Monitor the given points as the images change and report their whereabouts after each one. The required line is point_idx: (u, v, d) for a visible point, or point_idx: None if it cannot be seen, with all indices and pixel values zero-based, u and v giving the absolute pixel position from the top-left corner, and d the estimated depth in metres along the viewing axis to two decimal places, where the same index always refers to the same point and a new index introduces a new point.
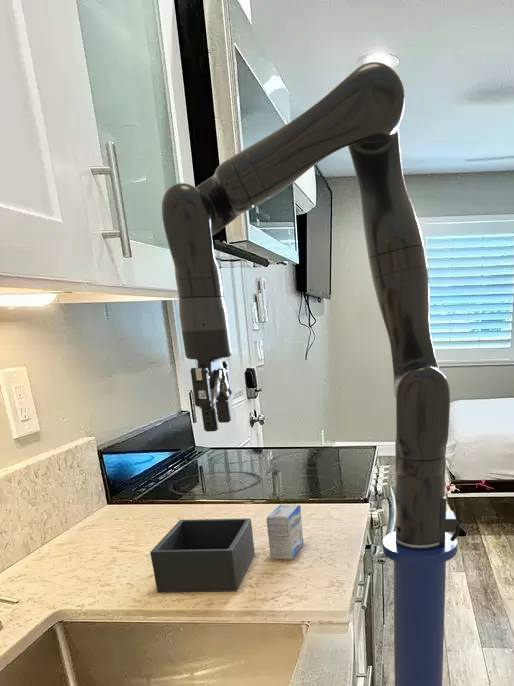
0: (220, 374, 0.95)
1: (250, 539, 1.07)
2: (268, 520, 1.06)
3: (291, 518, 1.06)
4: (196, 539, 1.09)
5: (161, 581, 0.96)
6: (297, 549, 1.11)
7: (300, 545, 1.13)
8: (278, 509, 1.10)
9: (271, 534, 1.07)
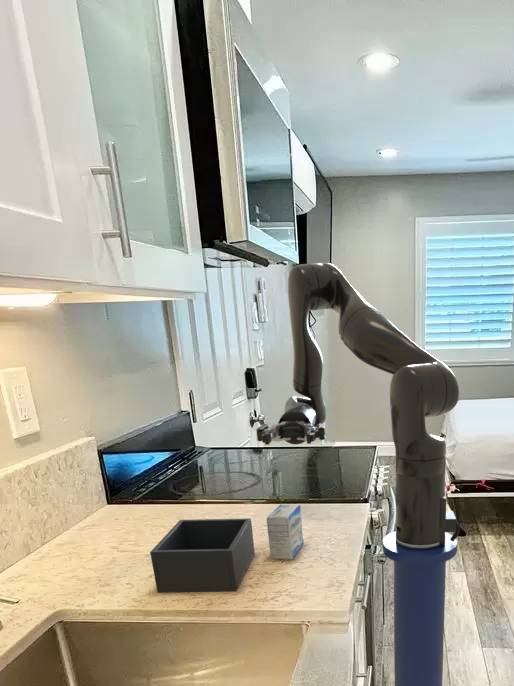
0: (285, 421, 1.22)
1: (250, 539, 1.07)
2: (268, 520, 1.06)
3: (291, 518, 1.06)
4: (196, 539, 1.09)
5: (161, 581, 0.96)
6: (297, 549, 1.11)
7: (300, 545, 1.13)
8: (278, 509, 1.10)
9: (271, 534, 1.07)
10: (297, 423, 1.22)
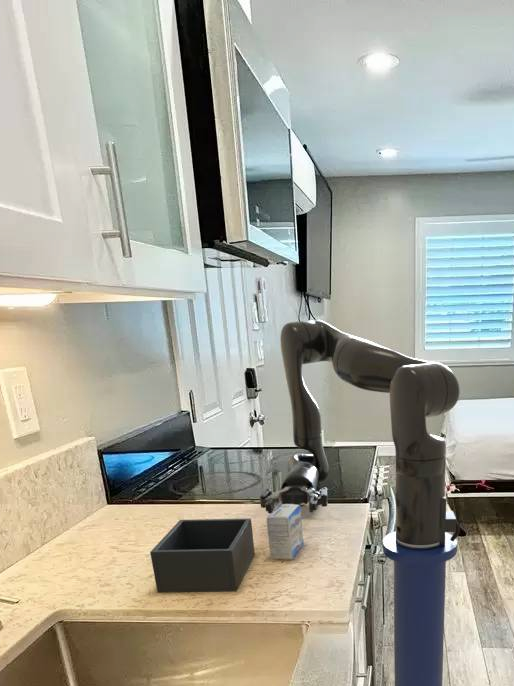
0: (288, 487, 1.24)
1: (250, 539, 1.07)
2: (268, 520, 1.06)
3: (291, 518, 1.06)
4: (196, 539, 1.09)
5: (161, 581, 0.96)
6: (297, 549, 1.11)
7: (300, 545, 1.13)
8: (278, 509, 1.10)
9: (271, 534, 1.07)
10: (300, 489, 1.23)
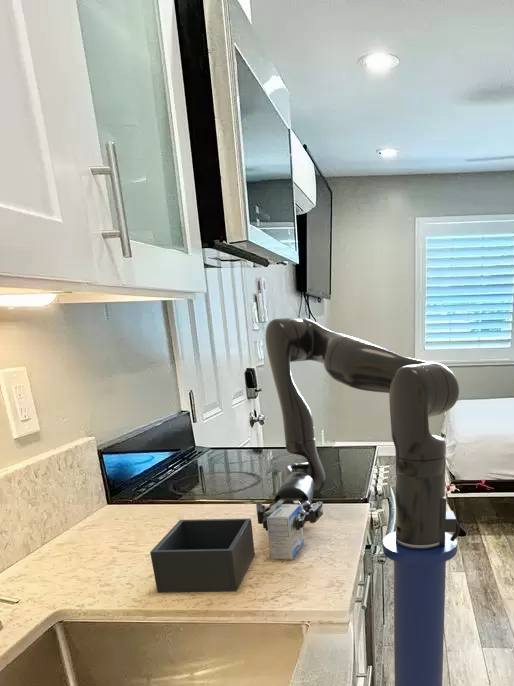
0: (281, 500, 1.15)
1: (250, 539, 1.07)
2: (268, 520, 1.06)
3: (291, 518, 1.06)
4: (196, 539, 1.09)
5: (161, 581, 0.96)
6: (297, 549, 1.11)
7: (300, 545, 1.13)
8: (278, 509, 1.10)
9: (271, 534, 1.07)
10: (293, 502, 1.15)
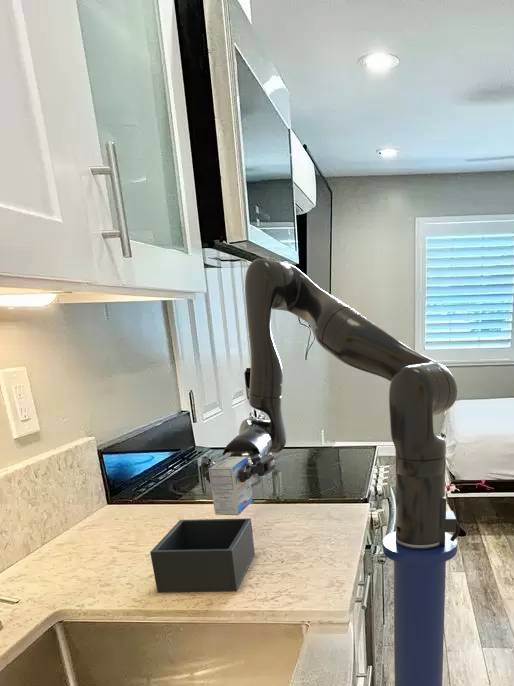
0: (229, 452, 1.06)
1: (250, 539, 1.07)
2: (210, 471, 0.97)
3: (235, 469, 0.98)
4: (196, 539, 1.09)
5: (161, 581, 0.96)
6: (244, 505, 1.02)
7: (248, 501, 1.04)
8: (223, 461, 1.01)
9: (214, 487, 0.98)
10: (241, 454, 1.06)
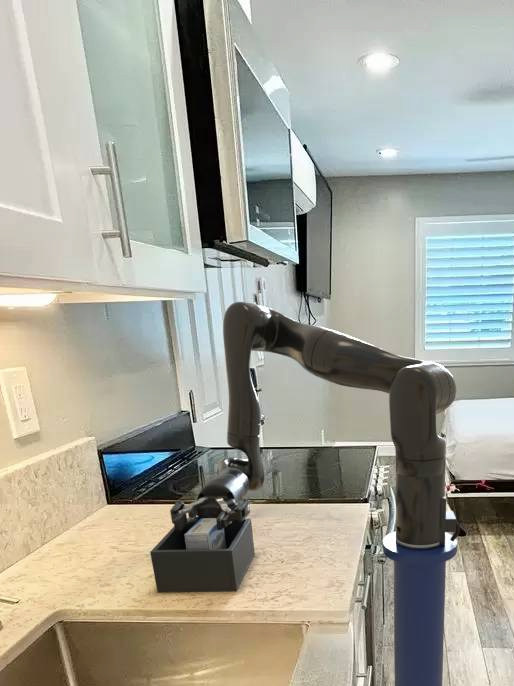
0: (203, 498, 1.06)
1: (250, 539, 1.07)
2: (186, 537, 0.97)
3: (211, 533, 0.98)
4: None
5: (161, 581, 0.96)
6: None
7: None
8: (198, 524, 1.01)
9: None
10: (216, 500, 1.05)
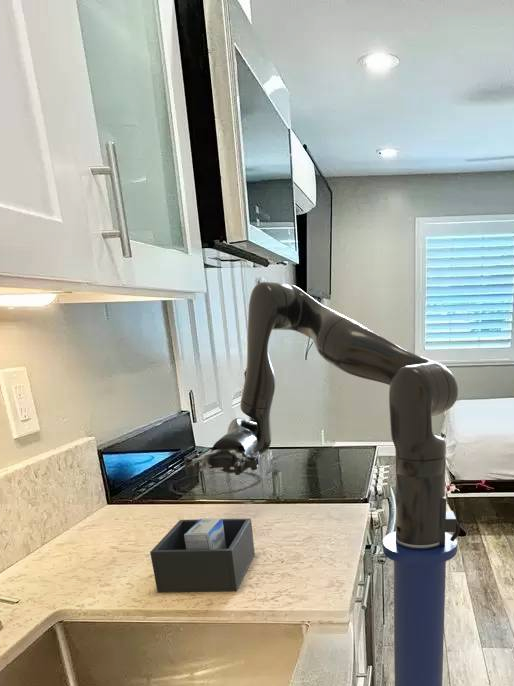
0: (217, 450, 1.15)
1: (250, 539, 1.07)
2: (186, 537, 0.97)
3: (211, 533, 0.98)
4: None
5: (161, 581, 0.96)
6: None
7: None
8: (197, 524, 1.01)
9: None
10: (229, 452, 1.15)
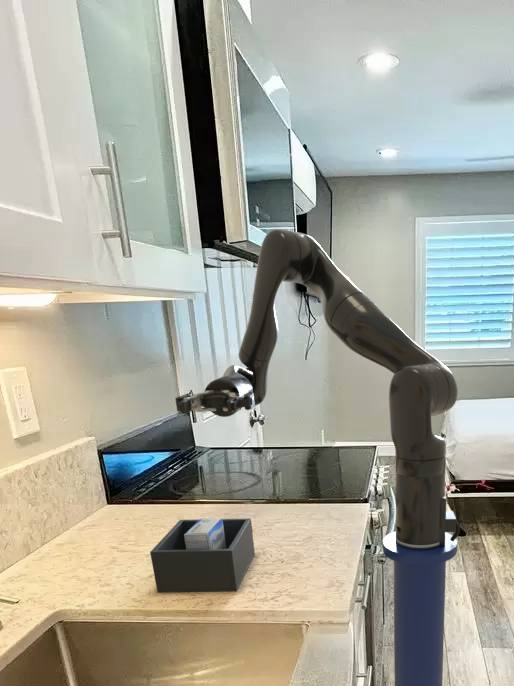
0: (209, 390, 1.11)
1: (250, 539, 1.07)
2: (186, 537, 0.97)
3: (211, 533, 0.98)
4: None
5: (161, 581, 0.96)
6: None
7: None
8: (197, 524, 1.01)
9: None
10: (222, 392, 1.11)
